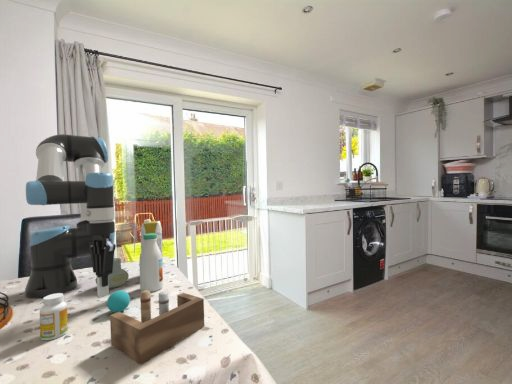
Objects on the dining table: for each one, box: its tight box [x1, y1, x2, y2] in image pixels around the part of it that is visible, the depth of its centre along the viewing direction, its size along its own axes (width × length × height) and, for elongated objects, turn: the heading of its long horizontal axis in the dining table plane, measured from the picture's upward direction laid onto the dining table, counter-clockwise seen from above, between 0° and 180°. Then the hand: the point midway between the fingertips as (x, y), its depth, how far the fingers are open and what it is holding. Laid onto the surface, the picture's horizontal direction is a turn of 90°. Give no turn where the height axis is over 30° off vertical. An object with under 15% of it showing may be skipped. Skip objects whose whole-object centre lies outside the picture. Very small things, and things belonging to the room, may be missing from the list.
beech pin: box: [139, 290, 152, 323], centre depth 68 cm, size 2×2×8 cm
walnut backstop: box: [109, 292, 205, 365], centre depth 62 cm, size 12×18×7 cm
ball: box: [106, 290, 131, 313], centre depth 76 cm, size 6×6×6 cm
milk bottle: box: [139, 233, 164, 293], centre depth 94 cm, size 8×8×20 cm
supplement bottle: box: [39, 292, 69, 341], centre depth 64 cm, size 5×5×10 cm
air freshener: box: [95, 257, 130, 289], centre depth 98 cm, size 11×8×10 cm
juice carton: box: [140, 218, 164, 268], centre depth 108 cm, size 9×8×24 cm
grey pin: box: [158, 290, 170, 316], centre depth 67 cm, size 2×2×8 cm
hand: (103, 295), depth 81 cm, fingers closed
